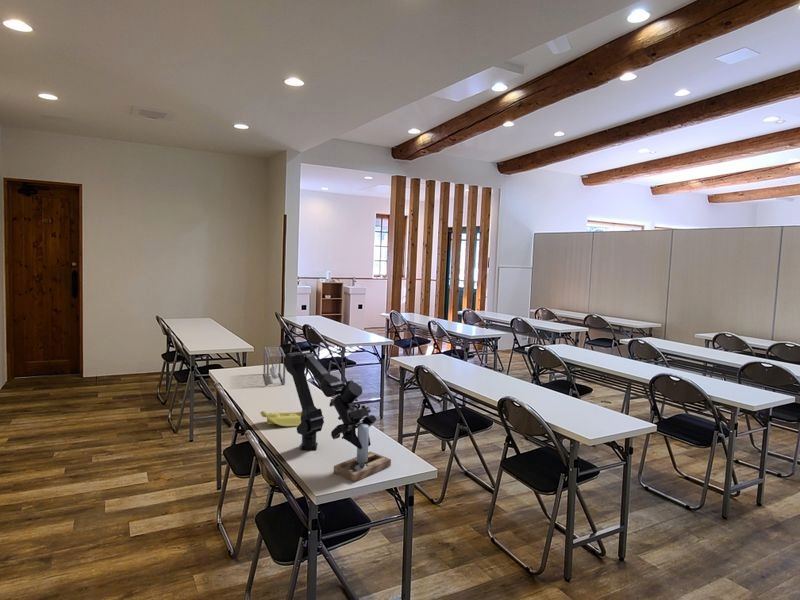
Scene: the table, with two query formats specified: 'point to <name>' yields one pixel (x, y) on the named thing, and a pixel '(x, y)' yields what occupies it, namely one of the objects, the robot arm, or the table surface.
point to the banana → (283, 418)
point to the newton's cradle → (273, 369)
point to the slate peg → (362, 453)
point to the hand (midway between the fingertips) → (365, 447)
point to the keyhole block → (372, 467)
